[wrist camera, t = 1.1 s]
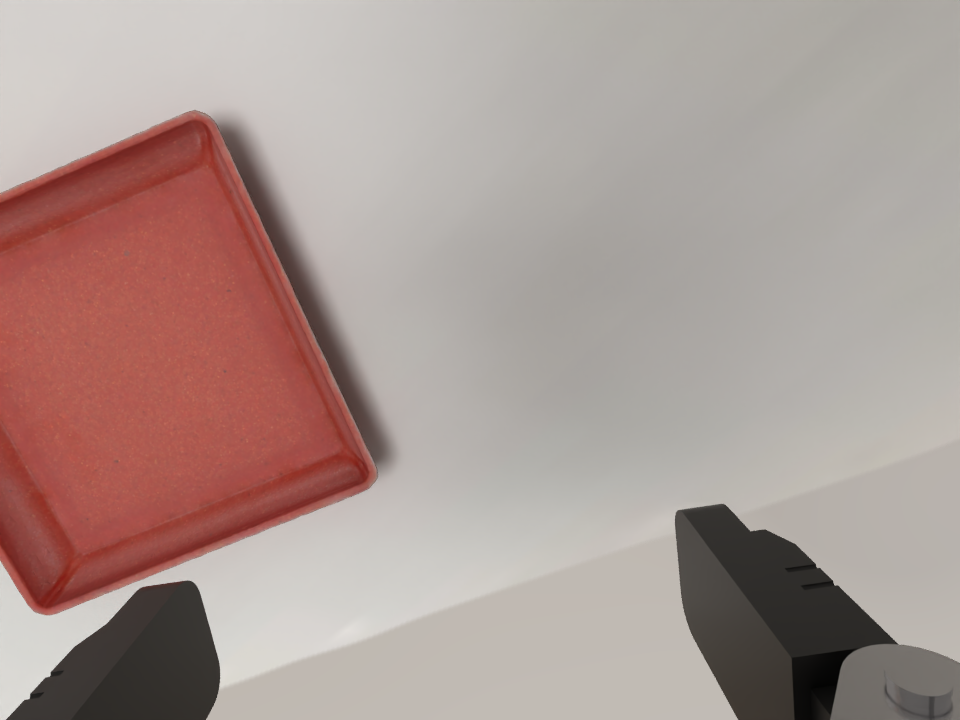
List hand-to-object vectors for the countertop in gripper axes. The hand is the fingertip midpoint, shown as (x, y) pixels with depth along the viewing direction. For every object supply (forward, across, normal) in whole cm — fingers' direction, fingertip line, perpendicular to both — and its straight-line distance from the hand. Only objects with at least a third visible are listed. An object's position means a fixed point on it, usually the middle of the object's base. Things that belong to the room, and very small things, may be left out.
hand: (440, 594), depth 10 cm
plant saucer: (+21, +15, -1) cm, 26 cm away
